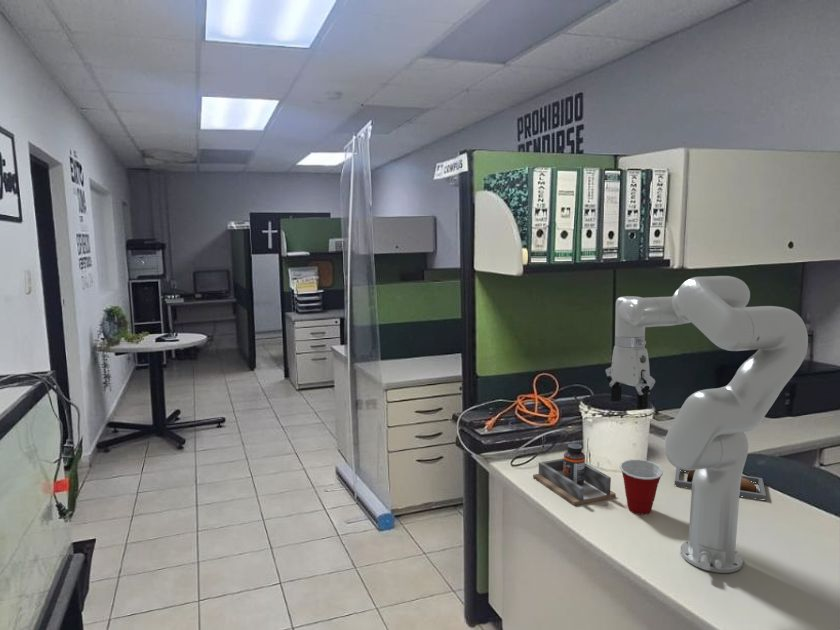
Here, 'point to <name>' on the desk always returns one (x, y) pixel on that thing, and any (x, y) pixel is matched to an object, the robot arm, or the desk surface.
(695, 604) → the desk surface
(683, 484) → the desk tray frame
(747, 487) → the sunglasses case
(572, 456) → the supplement bottle
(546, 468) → the board
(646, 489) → the plastic cup
